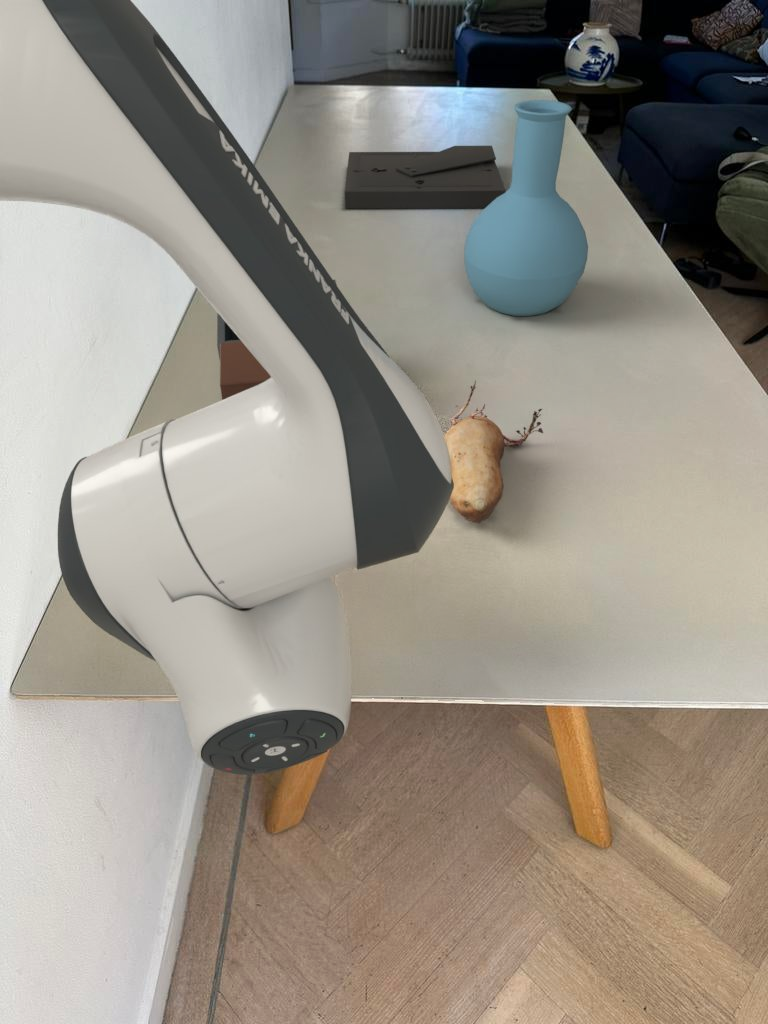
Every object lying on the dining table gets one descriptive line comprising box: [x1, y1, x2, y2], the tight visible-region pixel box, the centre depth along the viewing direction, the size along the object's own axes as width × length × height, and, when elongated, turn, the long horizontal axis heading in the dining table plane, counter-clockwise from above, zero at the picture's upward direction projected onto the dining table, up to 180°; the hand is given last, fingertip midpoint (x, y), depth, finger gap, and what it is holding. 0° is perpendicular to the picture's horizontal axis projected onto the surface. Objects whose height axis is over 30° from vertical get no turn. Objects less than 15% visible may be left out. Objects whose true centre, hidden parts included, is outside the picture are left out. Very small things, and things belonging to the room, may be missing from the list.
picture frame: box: [344, 145, 507, 210], centre depth 143 cm, size 23×4×28 cm
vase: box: [463, 99, 589, 317], centre depth 100 cm, size 16×16×25 cm
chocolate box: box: [219, 341, 271, 400], centre depth 58 cm, size 4×6×11 cm
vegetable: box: [443, 380, 544, 523], centre depth 74 cm, size 16×11×10 cm
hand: (254, 411), depth 58 cm, fingers closed on chocolate box, 4 cm apart
